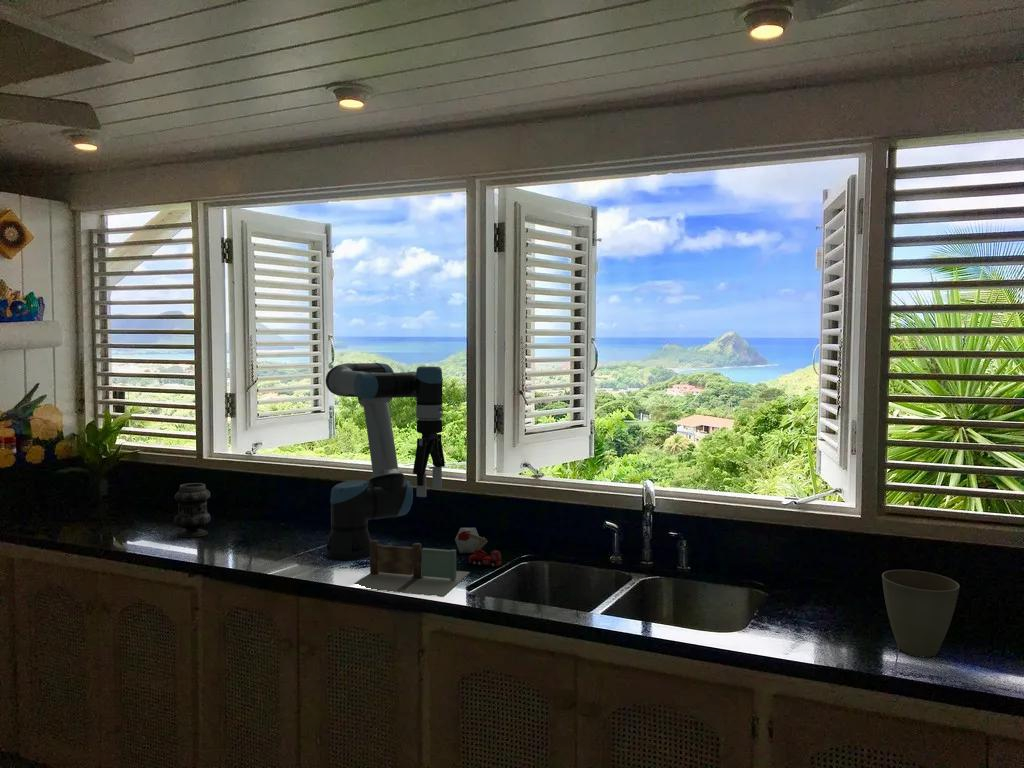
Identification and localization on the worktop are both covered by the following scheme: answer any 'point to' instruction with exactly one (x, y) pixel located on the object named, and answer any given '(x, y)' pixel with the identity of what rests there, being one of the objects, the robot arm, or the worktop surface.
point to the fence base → (396, 559)
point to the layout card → (411, 583)
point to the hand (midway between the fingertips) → (429, 492)
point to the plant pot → (919, 609)
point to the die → (467, 541)
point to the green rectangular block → (439, 563)
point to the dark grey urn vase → (192, 509)
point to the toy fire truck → (480, 555)
